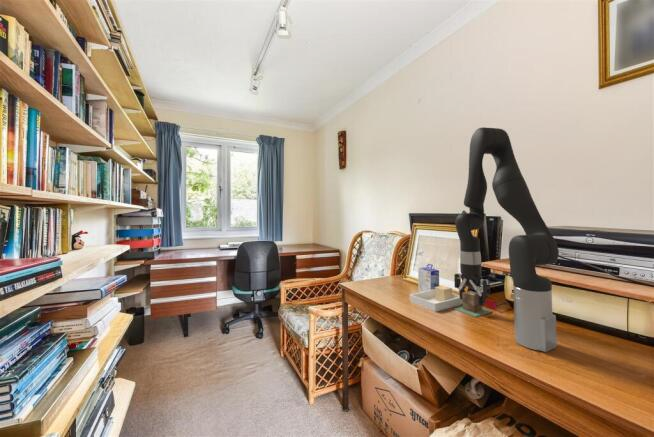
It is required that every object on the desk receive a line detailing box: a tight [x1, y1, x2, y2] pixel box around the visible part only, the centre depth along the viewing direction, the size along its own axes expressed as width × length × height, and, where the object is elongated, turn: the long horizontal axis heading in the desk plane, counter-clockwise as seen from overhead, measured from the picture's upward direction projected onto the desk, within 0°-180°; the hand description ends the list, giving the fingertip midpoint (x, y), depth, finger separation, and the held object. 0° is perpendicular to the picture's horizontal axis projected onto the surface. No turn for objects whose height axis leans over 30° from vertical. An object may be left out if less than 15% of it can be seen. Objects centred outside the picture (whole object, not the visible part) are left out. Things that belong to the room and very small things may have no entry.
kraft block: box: [435, 285, 453, 302], centre depth 120 cm, size 5×5×6 cm
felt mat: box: [452, 305, 493, 318], centre depth 107 cm, size 10×10×1 cm
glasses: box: [484, 297, 509, 311], centre depth 115 cm, size 14×16×5 cm
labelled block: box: [462, 290, 483, 313], centre depth 107 cm, size 5×5×7 cm
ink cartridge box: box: [417, 263, 440, 292], centre depth 133 cm, size 10×6×14 cm, turn 18°
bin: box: [409, 289, 463, 313], centre depth 118 cm, size 15×17×4 cm
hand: (471, 301), depth 107 cm, fingers open, 8 cm apart
